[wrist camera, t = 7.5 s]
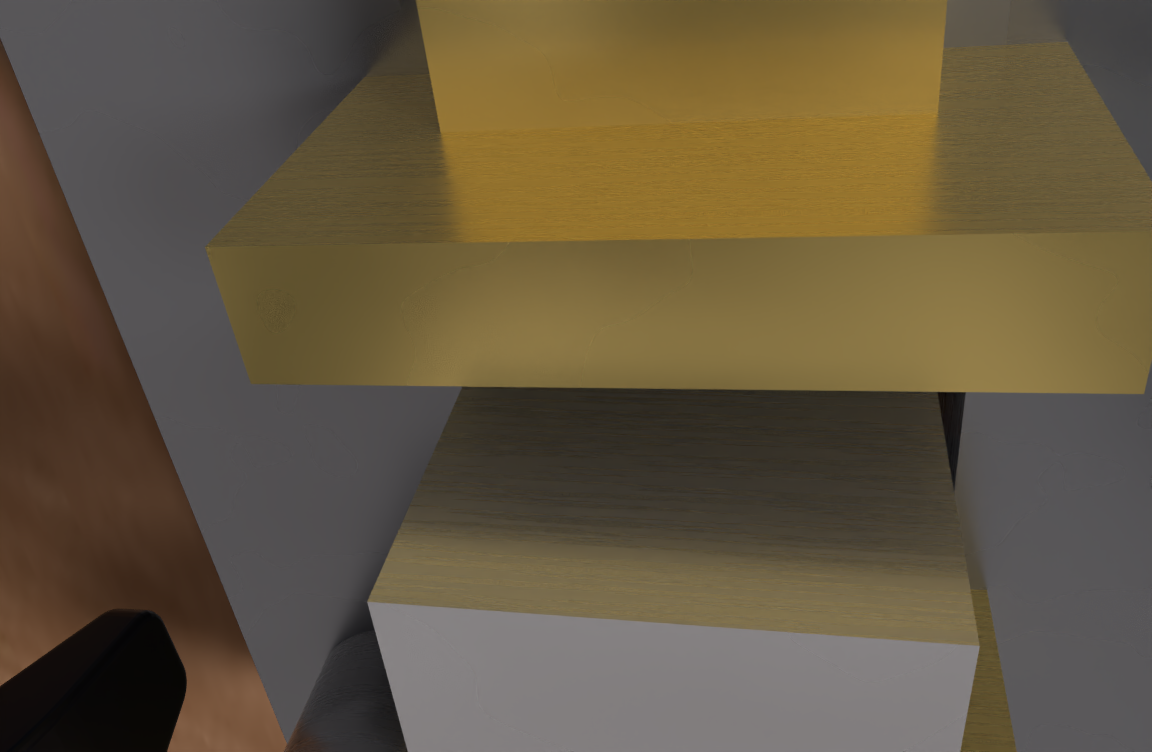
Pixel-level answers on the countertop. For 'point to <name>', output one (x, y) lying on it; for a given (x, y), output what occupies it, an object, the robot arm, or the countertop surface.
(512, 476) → the grey rectangular block
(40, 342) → the countertop surface
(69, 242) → the countertop surface
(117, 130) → the gray yellow fixture base
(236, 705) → the countertop surface
